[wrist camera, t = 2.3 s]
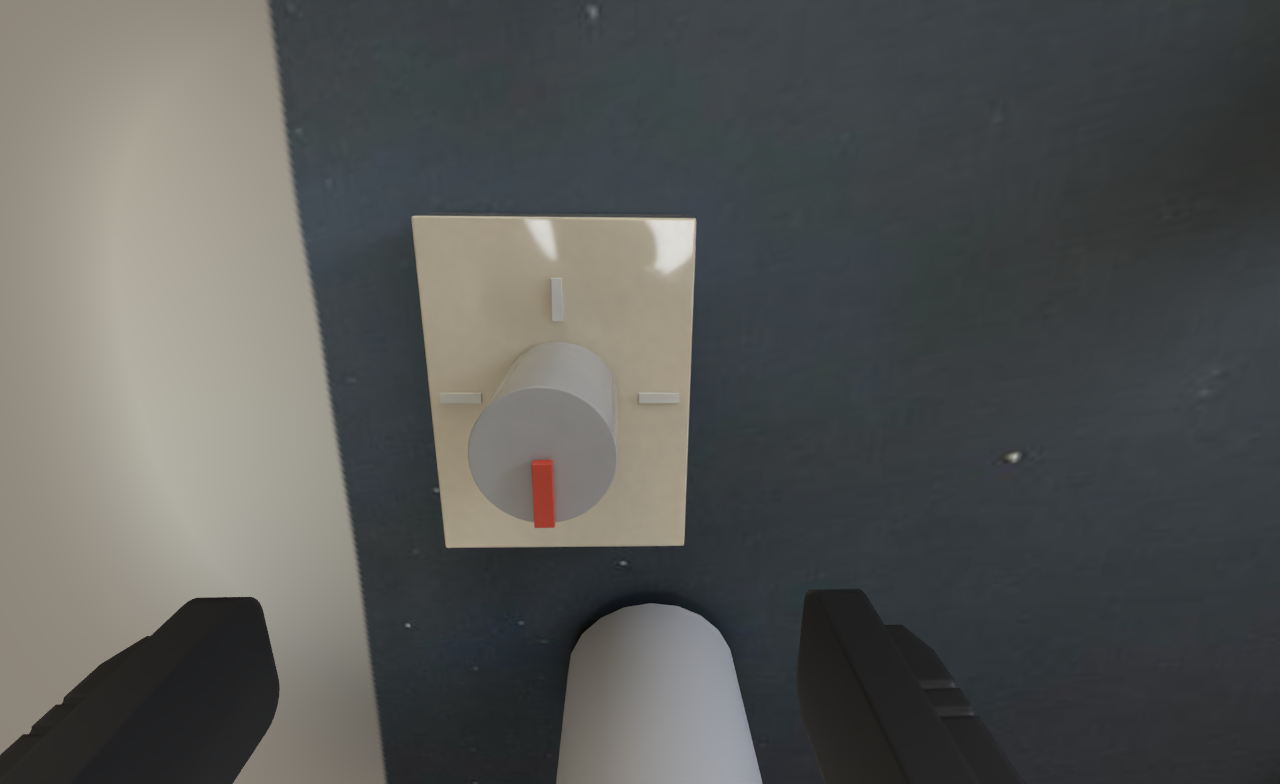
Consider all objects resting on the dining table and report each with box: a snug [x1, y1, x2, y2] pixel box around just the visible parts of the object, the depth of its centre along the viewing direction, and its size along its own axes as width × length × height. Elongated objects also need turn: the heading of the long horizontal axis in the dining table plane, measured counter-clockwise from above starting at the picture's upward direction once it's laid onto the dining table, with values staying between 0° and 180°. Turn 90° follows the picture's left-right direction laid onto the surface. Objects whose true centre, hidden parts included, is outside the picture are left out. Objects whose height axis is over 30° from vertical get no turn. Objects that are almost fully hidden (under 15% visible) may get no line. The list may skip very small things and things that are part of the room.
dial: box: [468, 342, 618, 528], centre depth 18 cm, size 4×4×5 cm
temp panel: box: [411, 213, 696, 548], centre depth 22 cm, size 12×9×3 cm
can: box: [556, 603, 762, 784], centre depth 23 cm, size 8×8×12 cm
